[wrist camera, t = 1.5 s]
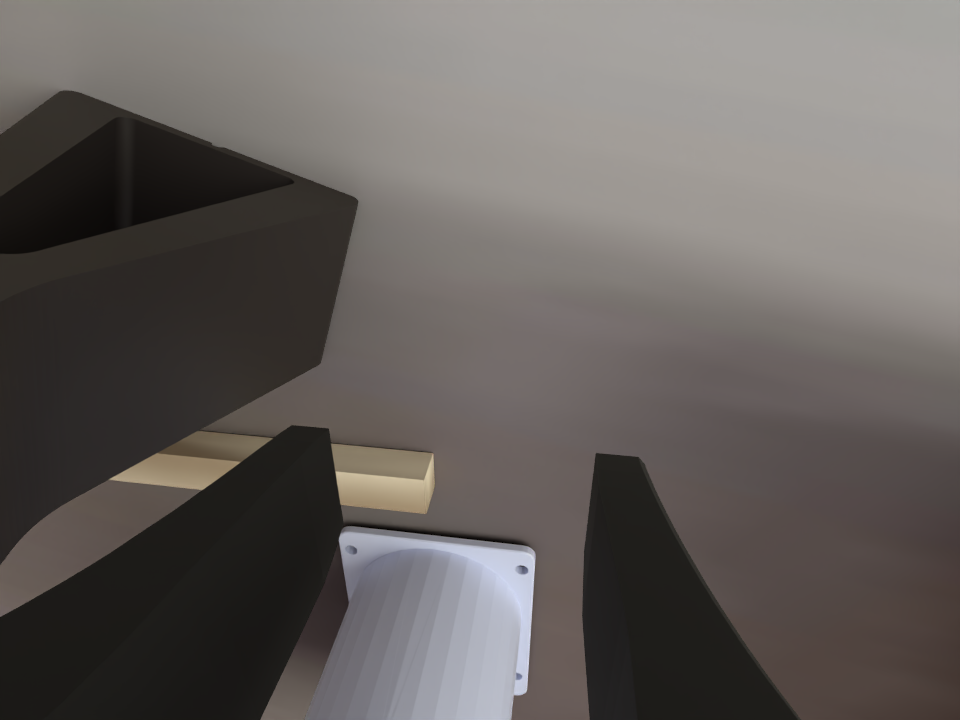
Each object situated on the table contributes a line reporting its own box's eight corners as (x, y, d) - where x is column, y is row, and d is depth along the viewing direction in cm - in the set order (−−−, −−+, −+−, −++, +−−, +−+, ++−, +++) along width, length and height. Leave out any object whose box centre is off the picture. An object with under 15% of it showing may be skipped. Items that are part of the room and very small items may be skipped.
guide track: (434, 485, 24) (409, 568, 20) (-69, 434, 27) (-166, 499, 23) (402, -158, 14) (342, -206, 11) (-390, -133, 17) (-636, -163, 13)
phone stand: (74, 265, 21) (-400, 521, 11) (70, 87, 18) (-596, 213, 8) (324, 359, 22) (90, 687, 12) (362, 200, 19) (88, 458, 8)
